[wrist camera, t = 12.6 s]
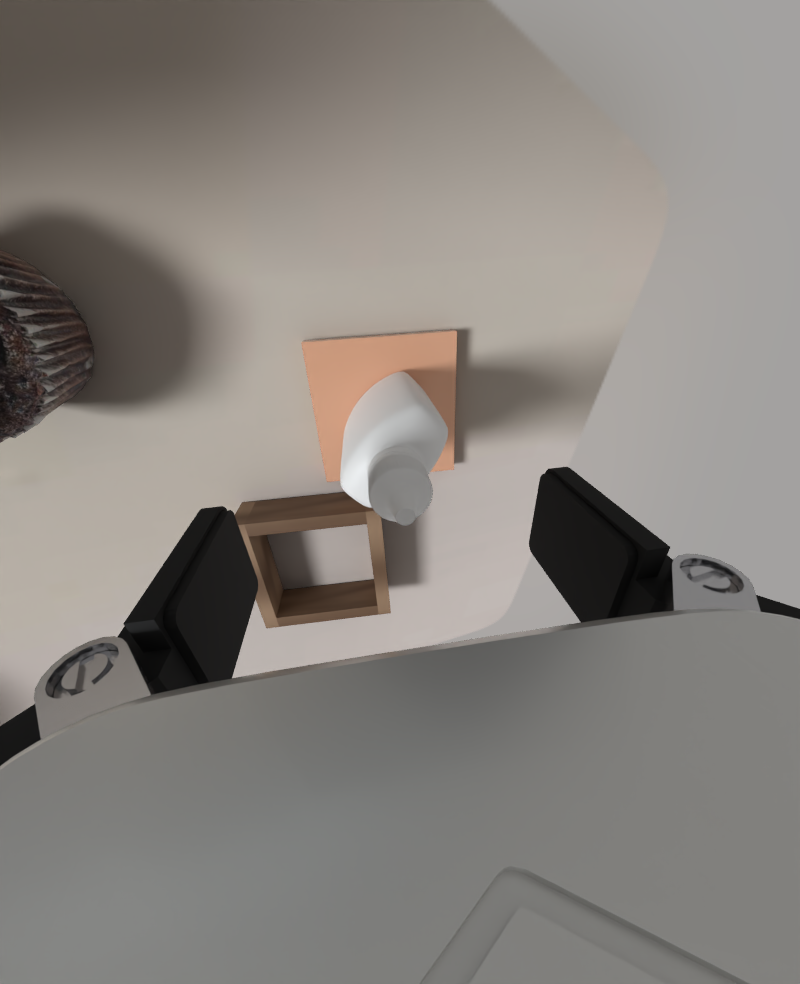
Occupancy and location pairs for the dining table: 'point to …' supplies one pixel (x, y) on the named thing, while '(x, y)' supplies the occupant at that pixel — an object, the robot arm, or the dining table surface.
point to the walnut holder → (315, 600)
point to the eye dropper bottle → (392, 449)
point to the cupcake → (37, 347)
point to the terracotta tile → (365, 361)
